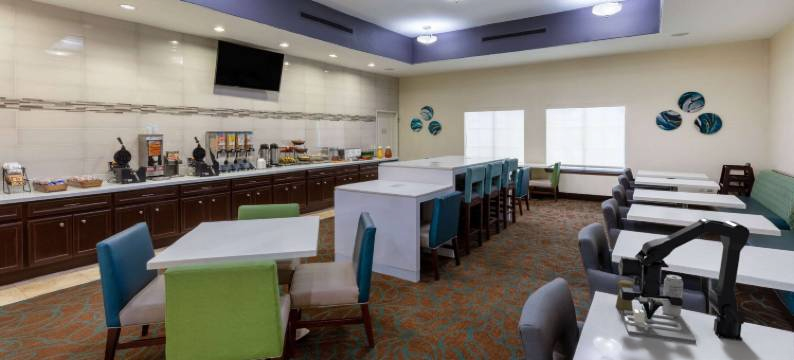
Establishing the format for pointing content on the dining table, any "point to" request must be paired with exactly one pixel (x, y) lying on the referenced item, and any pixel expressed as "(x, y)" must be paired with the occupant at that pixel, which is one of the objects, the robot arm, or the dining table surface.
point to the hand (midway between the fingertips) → (648, 318)
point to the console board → (658, 327)
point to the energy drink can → (676, 286)
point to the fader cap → (639, 316)
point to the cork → (620, 302)
